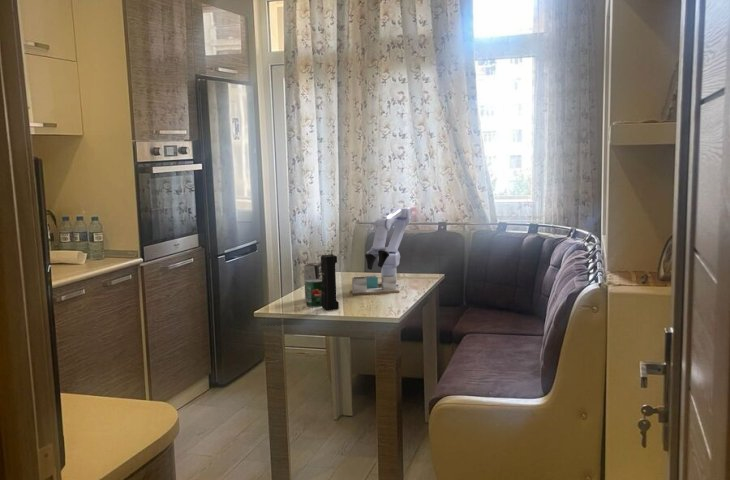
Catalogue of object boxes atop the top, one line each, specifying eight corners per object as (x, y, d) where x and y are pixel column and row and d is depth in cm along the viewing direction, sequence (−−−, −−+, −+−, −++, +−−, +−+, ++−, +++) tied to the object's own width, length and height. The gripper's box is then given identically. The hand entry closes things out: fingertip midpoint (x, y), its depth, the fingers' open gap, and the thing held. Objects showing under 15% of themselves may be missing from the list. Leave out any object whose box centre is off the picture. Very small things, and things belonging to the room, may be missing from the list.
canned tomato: (311, 303, 303) (310, 278, 301) (327, 303, 300) (326, 278, 299) (303, 306, 295) (302, 281, 294) (319, 307, 292) (318, 282, 291)
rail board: (349, 292, 325) (349, 276, 324) (395, 289, 329) (394, 273, 328) (352, 295, 316) (352, 279, 316) (399, 292, 320) (399, 276, 319)
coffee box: (318, 301, 305) (317, 265, 304) (304, 301, 307) (303, 265, 305) (324, 297, 314) (322, 262, 312) (310, 297, 316) (309, 262, 314)
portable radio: (319, 307, 292) (317, 249, 289) (333, 306, 294) (331, 248, 292) (325, 311, 285) (323, 251, 282) (339, 309, 287) (336, 250, 284)
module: (364, 288, 333) (363, 276, 332) (376, 288, 334) (375, 275, 333) (365, 290, 328) (365, 277, 328) (378, 289, 329) (377, 276, 329)
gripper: (363, 241, 333) (358, 267, 328) (383, 235, 322) (378, 262, 317) (374, 246, 337) (369, 272, 332) (394, 241, 326) (389, 267, 321)
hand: (374, 267), depth 325 cm, fingers open, 7 cm apart
